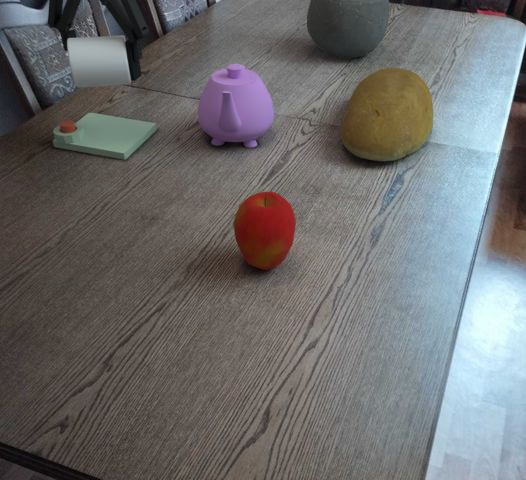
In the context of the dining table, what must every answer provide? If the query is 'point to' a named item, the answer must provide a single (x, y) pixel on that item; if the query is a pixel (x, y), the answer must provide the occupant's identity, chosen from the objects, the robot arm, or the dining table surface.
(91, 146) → the scale
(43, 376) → the dining table surface
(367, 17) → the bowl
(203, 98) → the teapot
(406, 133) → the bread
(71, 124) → the scale button
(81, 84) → the mug
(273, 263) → the apple
